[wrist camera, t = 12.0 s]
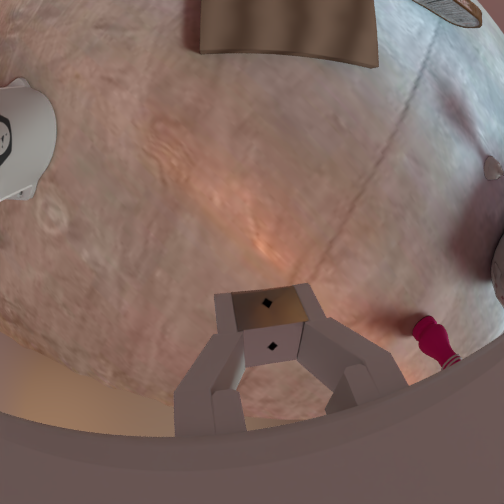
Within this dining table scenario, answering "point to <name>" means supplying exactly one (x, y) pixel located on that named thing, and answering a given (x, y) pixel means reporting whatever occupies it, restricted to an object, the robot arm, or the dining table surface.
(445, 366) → the pepper mill
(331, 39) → the board
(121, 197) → the dining table surface
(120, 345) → the dining table surface
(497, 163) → the chalice
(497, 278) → the chamber pot
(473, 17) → the tin
